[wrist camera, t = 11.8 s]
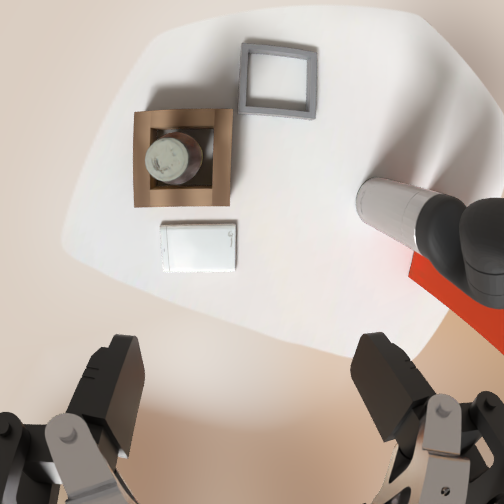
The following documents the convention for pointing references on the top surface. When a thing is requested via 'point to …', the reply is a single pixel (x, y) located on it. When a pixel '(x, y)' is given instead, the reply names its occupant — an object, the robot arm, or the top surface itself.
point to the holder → (182, 194)
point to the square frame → (285, 52)
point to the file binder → (459, 301)
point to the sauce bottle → (174, 158)
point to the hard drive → (198, 247)
